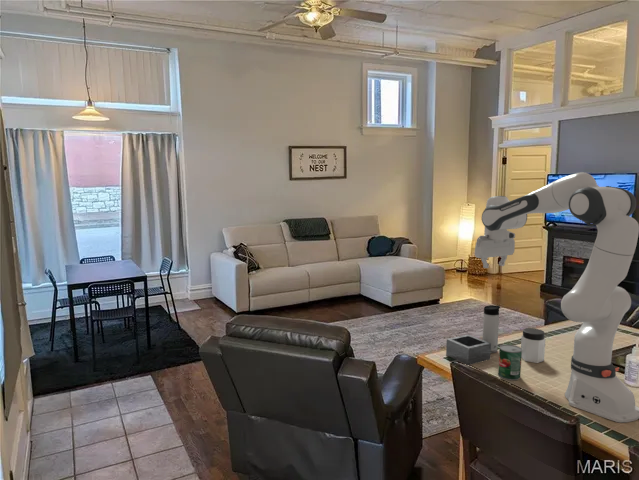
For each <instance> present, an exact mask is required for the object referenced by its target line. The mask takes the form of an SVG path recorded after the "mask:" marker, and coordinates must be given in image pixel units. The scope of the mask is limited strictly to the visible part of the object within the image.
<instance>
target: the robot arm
mask: <svg viewBox="0 0 639 480" xmlns="http://www.w3.org/2000/svg"><path fill="white" fill-rule="evenodd" d="M636 207H637V199H636V196H635V195H634V194H633V193H632V192H631V191H629V190H628V189H625V188H621V187H617V186H616V187H615V186H612V185H611V186H609V185H606V186H599V185H598V184H597V181H596V179H595V178H594V177H593V175H591V174H589V173H588V172H585V171H584V172H583V171H580V172H576V173H571V174H569V175H566V176H563V177H560V178H558V179H557V180H554V181H552V182H550V183H548V184H547V185H545V186H542V187H541V188H538V189H536V190H533V191H531V192H530V193H527V194H526V195H522V196H521V197H517V198H515V199H513V200H509V197H507V196H505V195H496V196H491V197H489V198H488V199H487V200H486V205H485V209H483V212H482V213H481V223H482V225H483V226H484V230H483V231H484V233H483V234H484V235H480V236H479V237H477V239H476V242H475V246H474V256H475V258H478V259H481V262H482V265H483V266H482V268H483V269H489V267H490V263H488V262H487V261H488V260H489V259H488V258H496V257H500V258H501V259H500V261H499V262H498V266H501V267H504V266H505V265H506V264H505V263H506V260H507V259H508V256H512V255H514V254H515V248H516V247H515V246H516V245H515V244H516V241H515V238H516V234H515V233H514V232H512V231H509V230H516V229H521V228H523V227H524V226H525V225H526V223H527V221H528V215H529V214H554V213H559V212H565V211H569V212H570V213H571V214H572V216H573V217H574V218H576V219H578V220H579V221H582V223H585V225H587V226H589V227H594V226H596V229H597V234H596V239H595V240H594V244H593V247H592V250H591V253H590V255H589V256H590V257H589V260H588V263H587V265H586V267H585V269H584V271H583V272H582V274H581V276H580V278H579V279H578V281H577V282H576V283H575V285H574V286H573V287H572V289H571V290H569V291H568V292H567V293H566V294H564V295H563V297H562V299H561V302H560V309H561V312H562V314H563V315H564V316H565V318H567V320H569V321H571V322H575V323H582V324H581V326H580V327H579V329H577V331H576V332H575V334H574V339H573V353H572V356H571V359H570V360H571V361H570V370H571V371H570V378H569V381H568V384H567V387H566V390H565V392H564V396H565V398H566V399H567V401H568V405H569V406H571V407H573V408H577V409H580V410H582V411H586V412H588V413H589V414H590V413H591V414H593V415H596V416H599V417H601V418H604V419H607V420H610V421H612V422H615V423H631V422H635V421H637V420H638V419H639V406H637V405H636V399H635V394H634V392H633V391H632V390H630V388H629V387H628V386H627V385H626V384H625V383H624V382H623V381H622V380H621V379H620V378H619V377H618V376H617V374H616V372H619V371H620V370H619V369H620V367H615V366H614V365H613V362H612V354H613V349H614V348H613V347H614V341H615V337H616V333H617V331H618V328H619V326H620V323H621V321H622V319H623V318H624V316H625V315H626V313H627V312H628V311H629V310H630V309H631V306H632V298H631V295H630V293H629V292H628V291H627V290H626V289H625V288H623V287H622V286H618V285H619V284H620V283H621V282H622V281H624V280H625V279H626V277H627V276H628V272H629V269H630V266H631V263H632V261H633V258H634V254H635V253H636V247H637V245H638V244H637V243H638V238H639V222H638V221H637V220H636V219H635V218H634V217H632V216H631V215H632V214H633V213H634V211H635V210H636V209H637V208H636Z"/></svg>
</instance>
